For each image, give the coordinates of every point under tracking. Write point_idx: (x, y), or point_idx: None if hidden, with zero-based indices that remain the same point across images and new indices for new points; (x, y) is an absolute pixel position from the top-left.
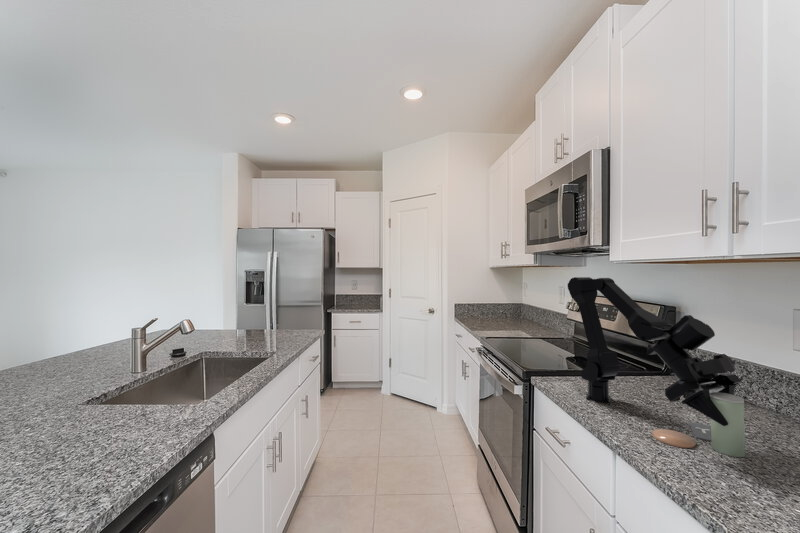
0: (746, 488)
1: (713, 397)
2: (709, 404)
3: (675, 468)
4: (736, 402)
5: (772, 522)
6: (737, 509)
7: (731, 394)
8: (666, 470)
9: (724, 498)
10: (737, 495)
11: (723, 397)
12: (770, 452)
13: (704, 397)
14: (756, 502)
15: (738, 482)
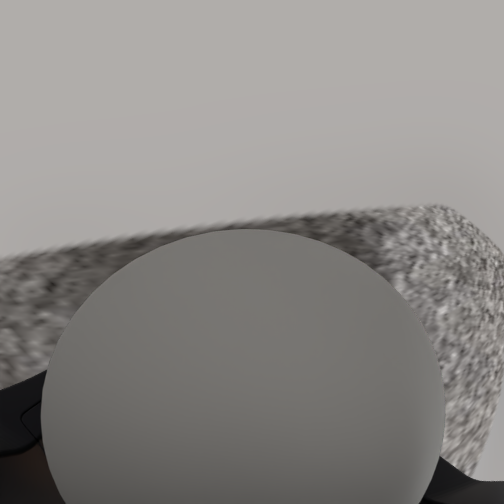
0: (419, 275)
1: (411, 497)
2: (438, 460)
3: (466, 393)
4: (372, 283)
5: (465, 223)
6: (481, 262)
7: (44, 424)
8: (483, 393)
9: (476, 285)
10: (454, 276)
11: (367, 441)
12: (82, 297)
13: (493, 484)
14: (444, 249)
15: (411, 294)
